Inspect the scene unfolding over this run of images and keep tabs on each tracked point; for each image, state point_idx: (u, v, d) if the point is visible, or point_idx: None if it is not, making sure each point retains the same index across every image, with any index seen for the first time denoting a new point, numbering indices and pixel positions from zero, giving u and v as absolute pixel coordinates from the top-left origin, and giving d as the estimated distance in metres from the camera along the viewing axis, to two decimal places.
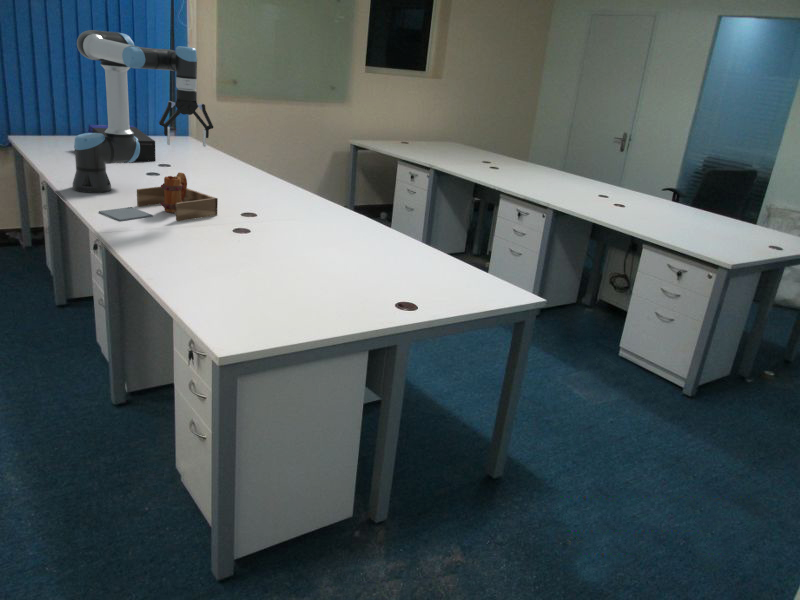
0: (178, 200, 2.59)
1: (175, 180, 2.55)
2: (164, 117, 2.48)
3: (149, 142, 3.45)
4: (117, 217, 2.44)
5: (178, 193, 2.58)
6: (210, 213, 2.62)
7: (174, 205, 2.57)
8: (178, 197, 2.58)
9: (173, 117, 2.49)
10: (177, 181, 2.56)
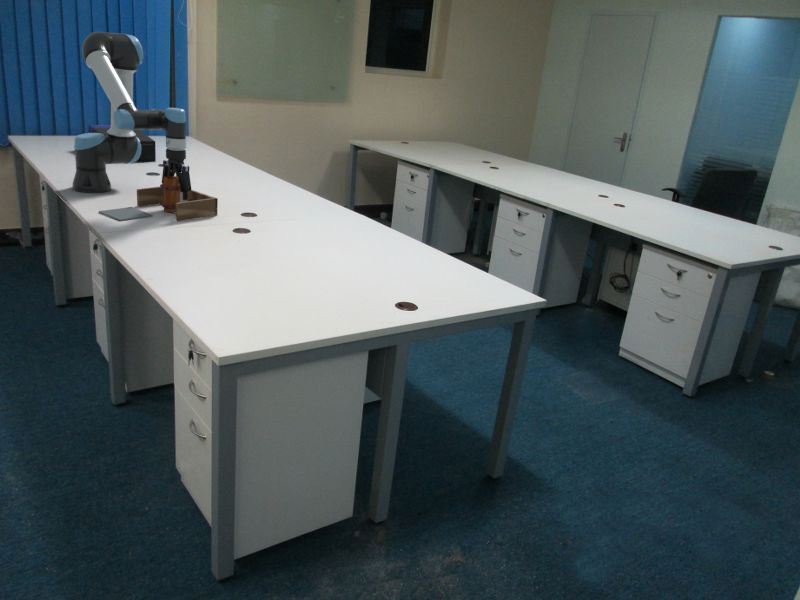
0: (177, 200, 2.59)
1: (174, 180, 2.55)
2: (163, 176, 2.62)
3: (149, 142, 3.45)
4: (117, 217, 2.44)
5: (177, 193, 2.58)
6: (210, 213, 2.62)
7: (173, 205, 2.58)
8: (177, 197, 2.58)
9: None
10: (176, 181, 2.56)
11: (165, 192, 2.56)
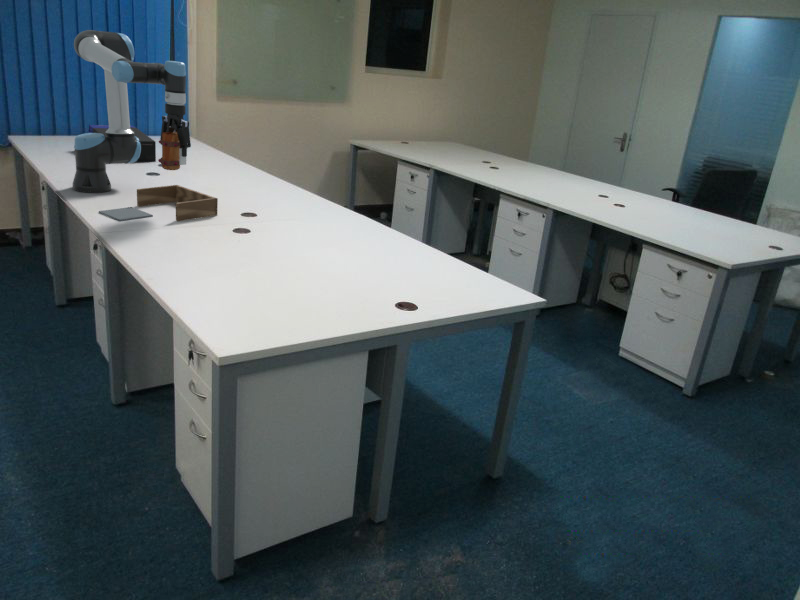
0: (176, 157, 2.53)
1: (173, 136, 2.49)
2: (162, 132, 2.56)
3: (149, 142, 3.44)
4: (117, 217, 2.44)
5: (176, 149, 2.52)
6: (210, 213, 2.62)
7: (172, 162, 2.52)
8: (176, 154, 2.53)
9: None
10: (175, 137, 2.50)
11: (164, 148, 2.50)
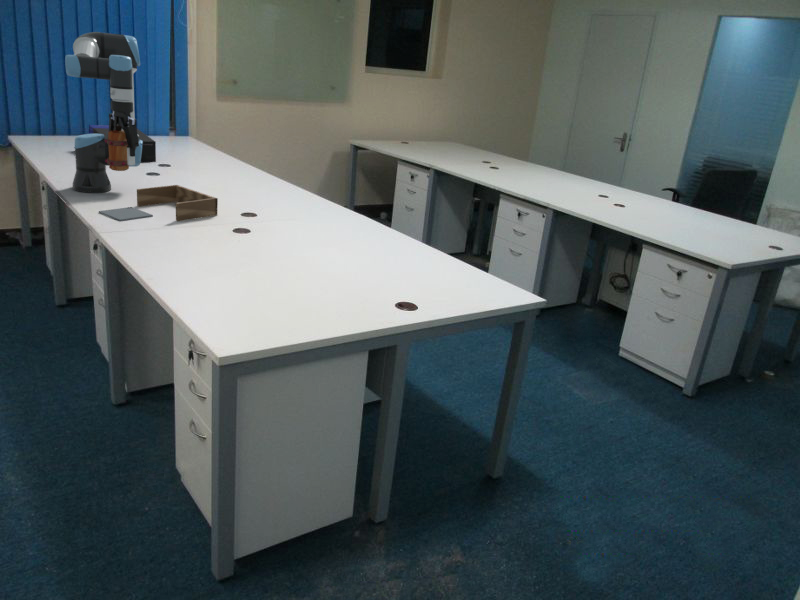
0: (124, 156, 2.39)
1: (120, 134, 2.35)
2: None
3: (149, 142, 3.44)
4: (117, 217, 2.44)
5: (124, 149, 2.38)
6: (210, 213, 2.62)
7: (119, 162, 2.38)
8: (124, 153, 2.39)
9: None
10: (122, 135, 2.36)
11: (110, 147, 2.36)
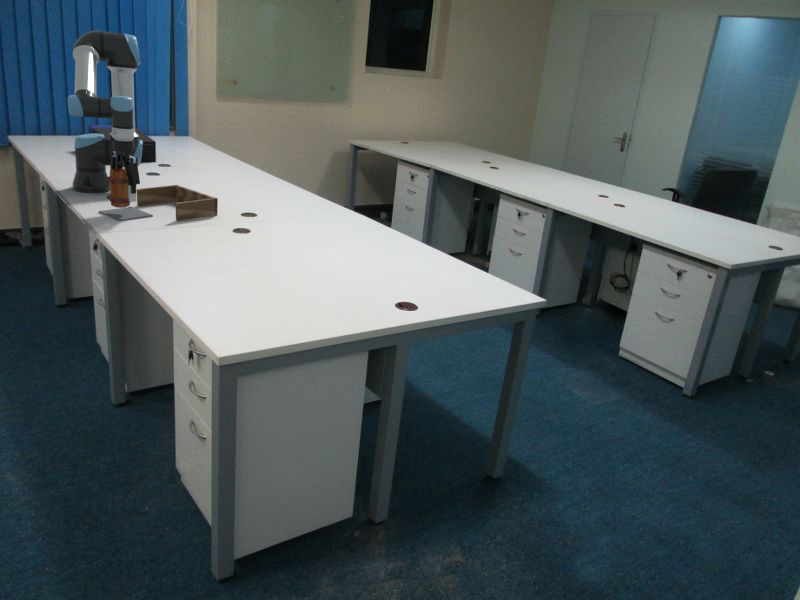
0: (125, 194, 2.44)
1: (121, 172, 2.40)
2: (111, 168, 2.47)
3: (149, 143, 3.44)
4: (117, 217, 2.44)
5: (125, 186, 2.43)
6: (210, 213, 2.62)
7: (120, 199, 2.43)
8: (125, 190, 2.44)
9: None
10: (123, 173, 2.41)
11: (112, 185, 2.41)
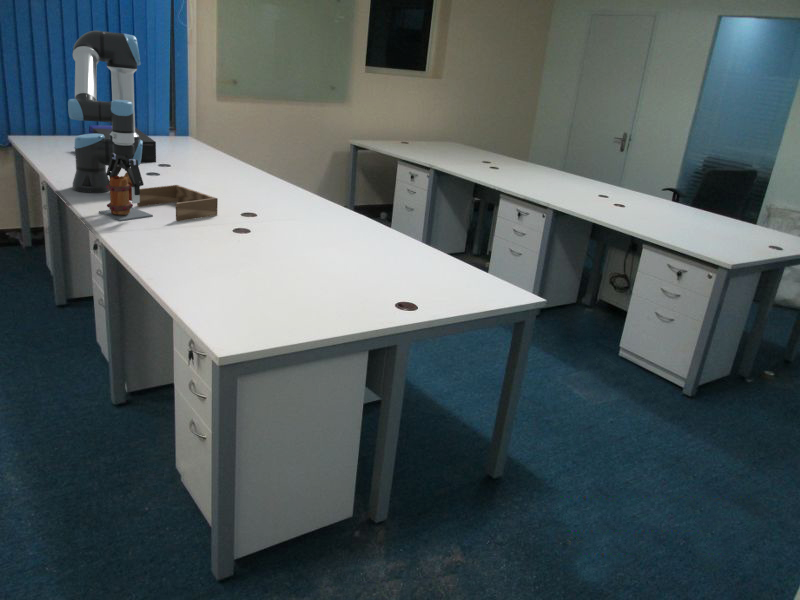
0: (125, 201, 2.45)
1: (121, 180, 2.41)
2: (108, 168, 2.48)
3: (150, 143, 3.43)
4: (117, 217, 2.44)
5: (125, 194, 2.44)
6: (210, 213, 2.62)
7: (120, 207, 2.44)
8: (125, 198, 2.45)
9: (113, 169, 2.46)
10: (123, 181, 2.42)
11: (111, 193, 2.42)
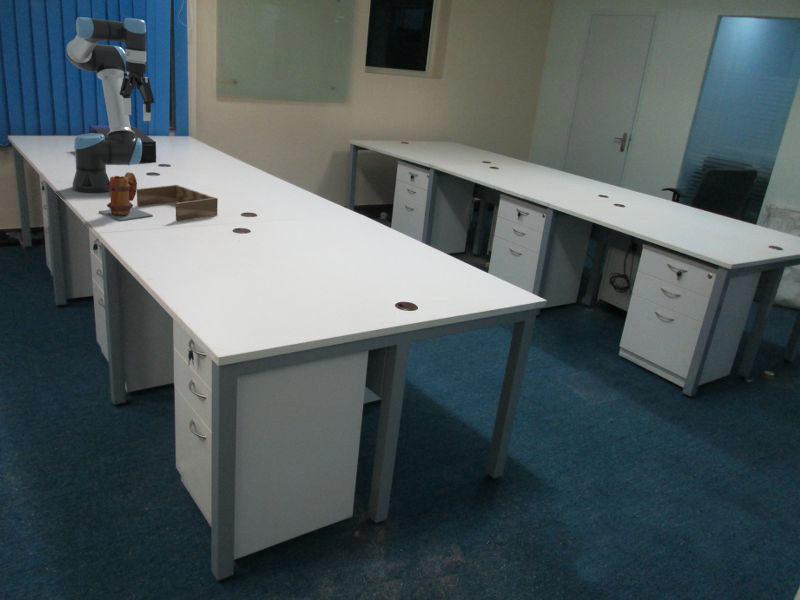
0: (125, 201, 2.45)
1: (121, 180, 2.41)
2: (122, 87, 2.57)
3: (150, 143, 3.43)
4: (117, 217, 2.44)
5: (125, 194, 2.44)
6: (210, 213, 2.62)
7: (120, 207, 2.44)
8: (125, 198, 2.45)
9: (126, 88, 2.55)
10: (123, 181, 2.42)
11: (112, 193, 2.42)
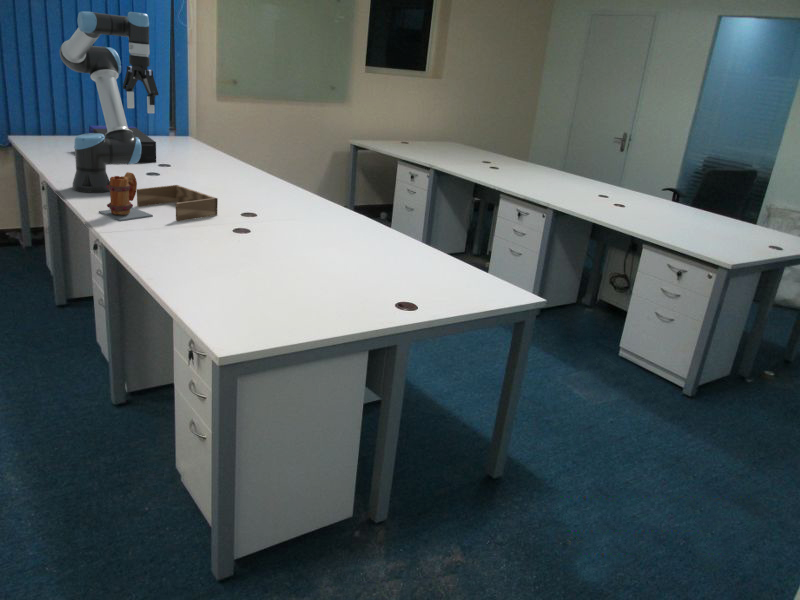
0: (125, 201, 2.45)
1: (121, 180, 2.41)
2: (125, 81, 2.60)
3: (150, 143, 3.43)
4: (117, 217, 2.44)
5: (125, 194, 2.44)
6: (210, 213, 2.62)
7: (120, 207, 2.44)
8: (125, 198, 2.45)
9: (129, 81, 2.59)
10: (123, 181, 2.42)
11: (112, 193, 2.42)
